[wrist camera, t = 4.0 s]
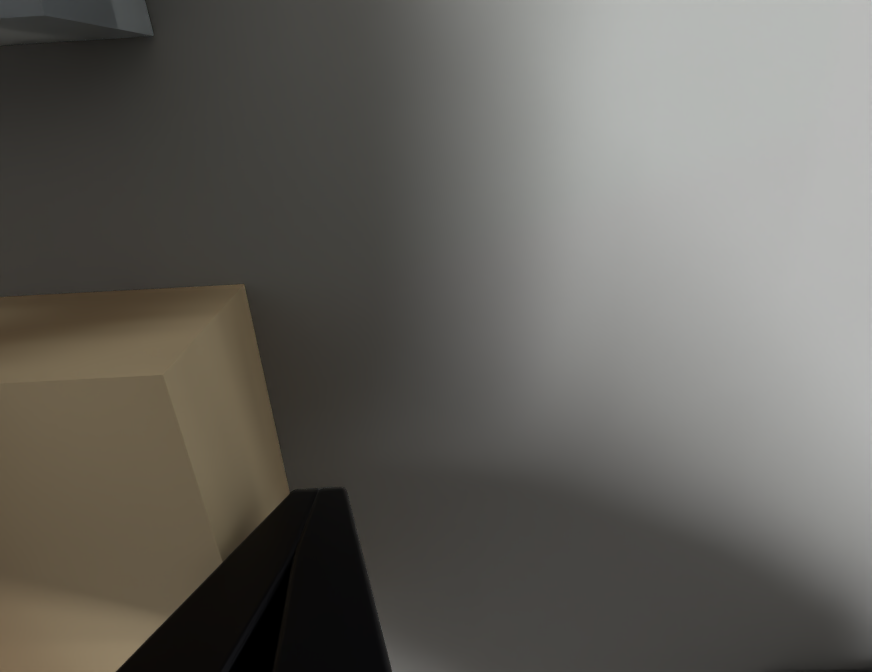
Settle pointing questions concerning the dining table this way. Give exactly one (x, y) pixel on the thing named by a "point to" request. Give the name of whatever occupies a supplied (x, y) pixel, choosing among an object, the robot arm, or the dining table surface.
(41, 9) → the tray
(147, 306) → the tan beveled block
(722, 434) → the dining table surface
